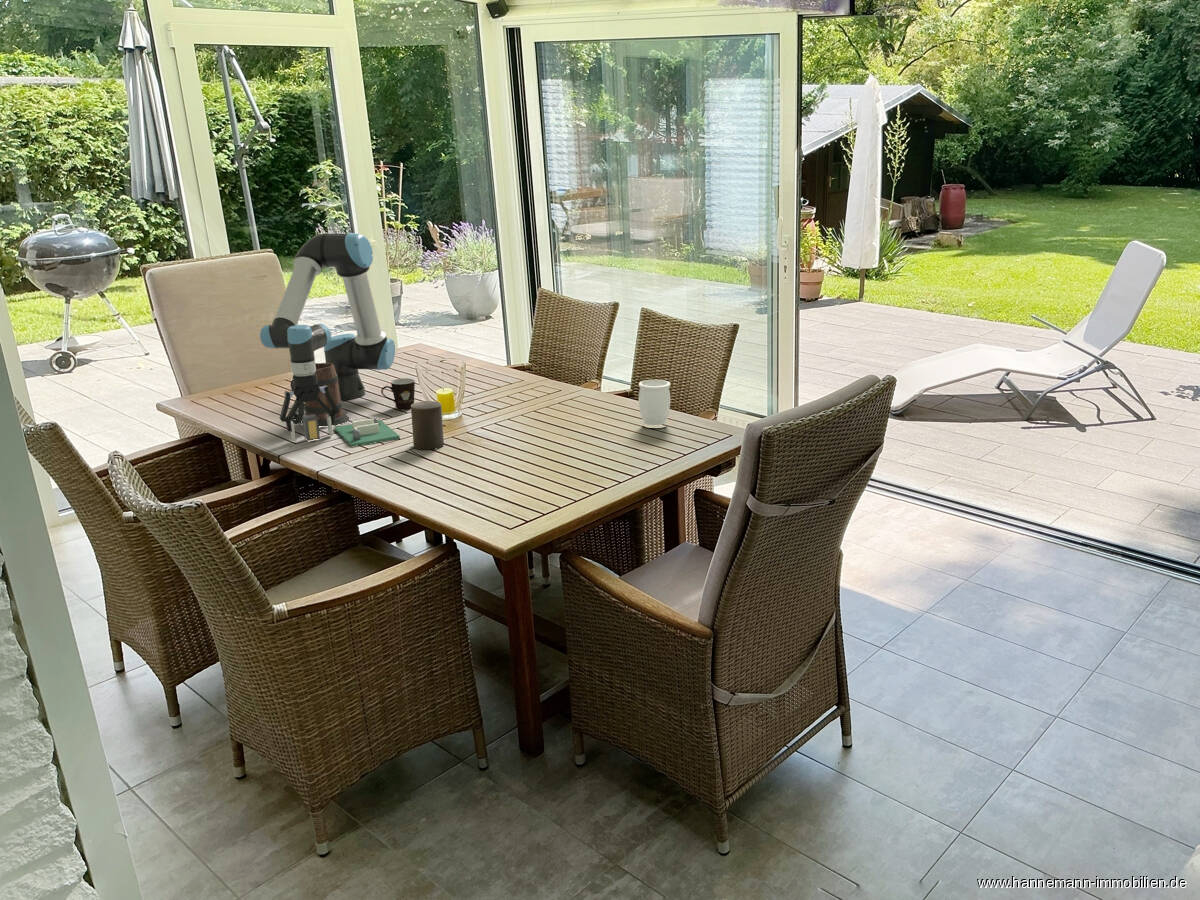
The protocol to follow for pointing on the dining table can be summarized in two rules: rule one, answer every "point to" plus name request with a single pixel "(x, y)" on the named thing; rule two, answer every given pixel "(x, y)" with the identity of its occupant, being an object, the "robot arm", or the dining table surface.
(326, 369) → the tankard
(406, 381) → the coffee mug
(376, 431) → the board
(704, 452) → the dining table surface
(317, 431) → the plug
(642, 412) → the jar
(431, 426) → the pillar candle
